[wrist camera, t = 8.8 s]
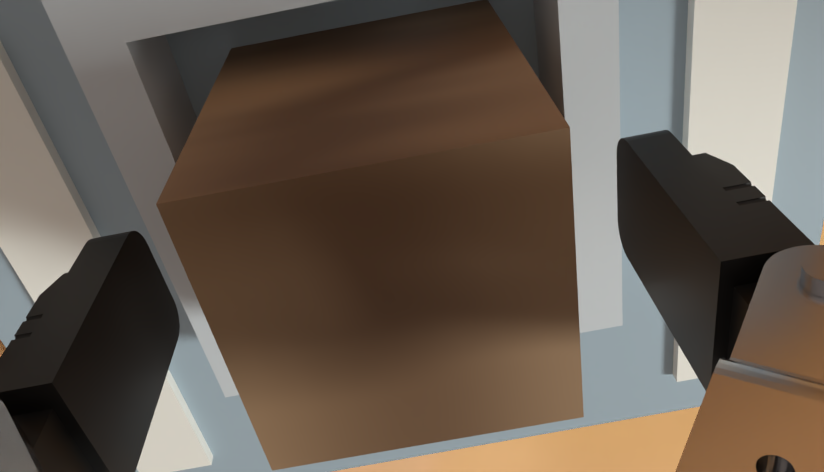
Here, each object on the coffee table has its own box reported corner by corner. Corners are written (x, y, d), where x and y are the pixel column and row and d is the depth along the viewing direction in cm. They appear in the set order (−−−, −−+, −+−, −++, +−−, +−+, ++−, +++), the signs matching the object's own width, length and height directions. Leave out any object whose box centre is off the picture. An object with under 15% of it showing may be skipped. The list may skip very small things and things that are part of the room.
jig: (924, -659, 10) (1140, -829, 7) (771, 360, 21) (834, 445, 18) (-399, -353, 11) (-657, -403, 8) (126, 475, 21) (93, 574, 19)
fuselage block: (487, -1, 13) (570, 126, 8) (511, 218, 16) (583, 417, 11) (231, 48, 13) (156, 204, 8) (298, 257, 16) (271, 470, 11)
